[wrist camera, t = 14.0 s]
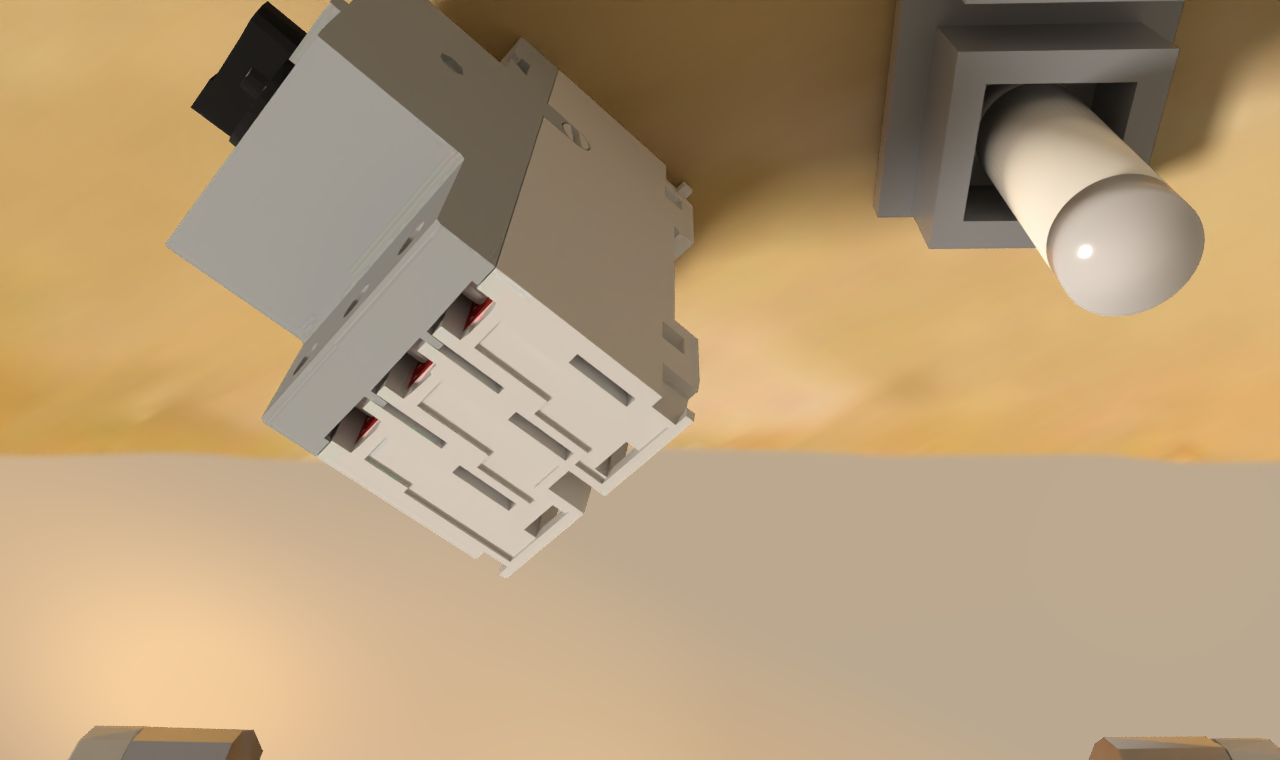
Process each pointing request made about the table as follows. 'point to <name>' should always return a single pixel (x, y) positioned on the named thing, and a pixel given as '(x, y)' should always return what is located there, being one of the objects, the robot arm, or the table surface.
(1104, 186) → the cylinder
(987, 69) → the block
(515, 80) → the circuit breaker
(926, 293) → the table surface
